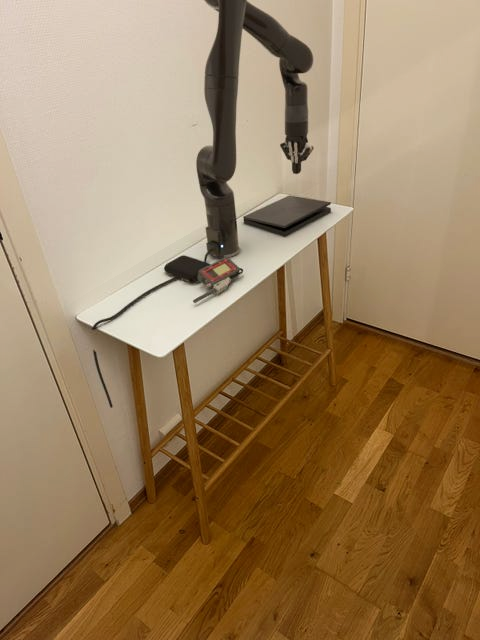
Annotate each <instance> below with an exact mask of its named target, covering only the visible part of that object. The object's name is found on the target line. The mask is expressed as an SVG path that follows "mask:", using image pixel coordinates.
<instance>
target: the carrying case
mask: <svg viewBox="0 0 480 640" xmlns="http://www.w3.org/2000/svg"><path fill="white" fill-rule="evenodd" d="M210 264H211V263H209V262H207V261H206V262H204V260H201V259H197V258H194V257H191V256H189V255H180V256H178V257H176V258H174V259H173V260H171V261H169V262H166V263H165V265H164V267H163V270H164V272H165V273H166V274H169V275H171V276H174V277H179V278H178V279H180V280H181V281H182V282H190V283H199V281H198V278H197V277H198V272H199V270H201V269H203V268H205V267H207V266H208V265H210Z"/></svg>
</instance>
